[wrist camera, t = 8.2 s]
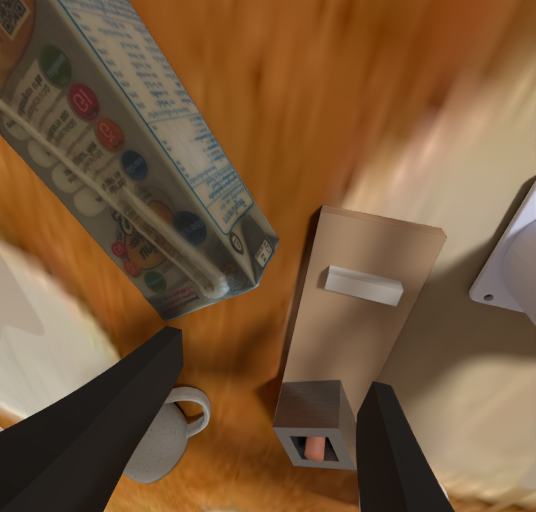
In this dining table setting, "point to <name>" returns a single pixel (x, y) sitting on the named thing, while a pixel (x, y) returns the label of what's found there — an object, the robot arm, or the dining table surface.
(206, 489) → the dining table surface
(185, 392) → the ceramic mug
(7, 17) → the beverage carton
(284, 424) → the open square sleeve
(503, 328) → the dining table surface
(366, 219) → the board
